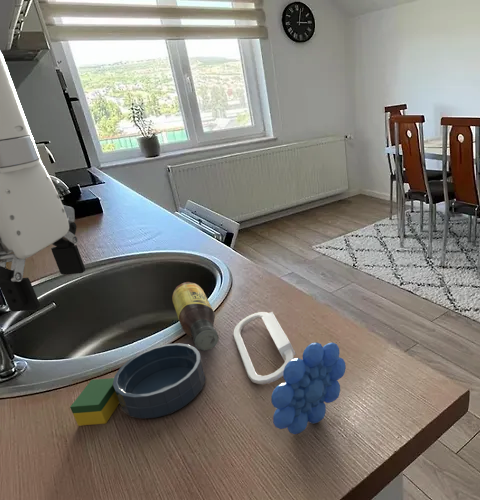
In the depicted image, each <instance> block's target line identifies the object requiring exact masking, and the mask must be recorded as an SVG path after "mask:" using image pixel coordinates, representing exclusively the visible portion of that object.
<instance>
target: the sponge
mask: <svg viewBox="0 0 480 500" xmlns="http://www.w3.org/2000/svg"><path fill="white" fill-rule="evenodd" d="M113 381H114V377H109V378H98V379H95V378H94V379H91V380H90V381H89V382H88V383H87V385H86V386H85V387H84V389H82V391H81V392H80V394H78V396H77V397H76V399H75V400H74V401H73V403H72V404H71V405H70V406H69V408H70V411H71V413H72V416H73V417H74V419H75V422H76V424H77V426H78V427H80V426H81V427H82V426H93V425H105V424H107V423H108V421H109V420H110V418H111V417H112V415H113V414H114V412H115V411H116V410H117V408H118V406H119V405H120V402H119V399H118V397H117V394H116V392H115V389H114V386H113Z"/></svg>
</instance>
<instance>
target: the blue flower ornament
mask: <svg viewBox="0 0 480 500" xmlns="http://www.w3.org/2000/svg"><path fill="white" fill-rule="evenodd" d="M340 355H341V354H340V347H339V345H338V344H337V343H334V342H328V343H326V344H324V345H322V343H319V342H311V343H309V344H308V345H307V346H306V347H305V348H304V350H303V353H302V359H301V358H299V357H294V359H292V360H290V361H289V362H288V363H287V365H286V366H285V368H284V371H283V376H282V377H283V380H284V382H281V383H279V384H278V385H276V387H275V388H274V389H273V391H272V394H271V401H270V402H271V405H272V406H273V408H275V411H274V413H273V416H272V418H273V419H272V422H273V425H274V427H275V428H277V429H279V430H283V429H284V430H285V429H287V430H288V432H289V433H290V434H293V435H298V434H301V433H303V432H304V431H305V430H307V429H306V428H307V426H308V424H309V423H310V424H313V425H314V424H318V423H320V422H321V421H323V419H324V418H325V416H326V412H327V407H326V405H327V404H330V403H333V402H335V401H336V400H338V399H339V396H340V395H341V394H340V393H341V384H340V382H339V380H341V379H342V378H343V377H344V376H345V374H346V369H347V367H346V366H347V365H346V362H345V360H344V358H342V357H340Z"/></svg>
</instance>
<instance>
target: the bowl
mask: <svg viewBox="0 0 480 500" xmlns="http://www.w3.org/2000/svg"><path fill="white" fill-rule="evenodd" d="M113 378H114V381H113V386H114V389H115V392H116V394H117V397H118V399H119V402H120V403H119V405H120V408H121V409H122V412H123V413H124V414H126V415H128V416H129V417H132V418H136V419H155V418H156V419H157V418H161V417H165V416H167V415H170V414H173V413H175V412H177V411H179V410H180V409H182V408H184V407H185V406H187V405H188V404H189V403H191V402H192V401H193V400H194V399H195V398H196V397H197V395H198V394H200V392H201V391H202V389H203V388H204V386H205V383H206V380H207V377H206V370H205V367H204V362H203V359H202V355H201V352H200V351H199V349H198V348H197V347H196V346H193V345H192V344H191V345H190V344H188V343H181V342H177V343H166V344H162V345H158V346H154V347H151V348H148V349H146V350H144V351H141V352H140V353H138V354H137V355H135V356H133V357H131V358H130V359H129V360H127V361H126V362H125V363H124V364H122V365H121V366H120V368H119V369H118V370H117V372H116V373H115V374H114V377H113Z"/></svg>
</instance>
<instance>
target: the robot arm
mask: <svg viewBox="0 0 480 500" xmlns="http://www.w3.org/2000/svg"><path fill="white" fill-rule="evenodd" d="M10 74H11V73H10V72H9V68H8V65H7V64H6V61H5V58H4V55H3V53H2V51H1V50H0V292H1V294H2V296H3V298H4V300H5V303H6V304H7V307H8V309H9V310H10V312H12V313H17V312H27V311H36V310H38V309H39V308H41V303H40V300H39V299H38V296H37V294H36V291H35V289H34V287H33V284H32V282H31V280H30V279H29V277H24V272H25V265H26V259H29V258H31V257H32V256H35V255H36V254H37V253H39V252H41V251H43V250H45V249H47V248H48V247H49V246H53V247H51V248H50V250H51V253H52V255H53V258H54V261H55V263H56V267H57V268H58V270H59V274H61V275H64V276H65V275H75V274H77V275H78V274H83V273H85V272H86V266H85V264H84V262H83V258H82V256H81V254H80V250H79V247H78V246H77V244H78V243H79V239H78V237H77V235H76V233H77V223H75V222H76V217H75V216H76V215H75V209H74V207H72V206H68V205H64V204H63V202H62V200H61V198H60V195H59V193H58V191H57V189H56V187H55V184H54V183H53V181H52V178H51V176H50V175H49V172H48V171H47V169H46V167H45V166H44V164H43V161H42V159H41V157H40V154H39V150H38V148H37V146H36V143H35V140H34V137H33V135H32V132H31V129H30V126H29V123H28V120H27V118H26V116H25V113H24V110H23V107H22V105H21V102H20V99H19V96H18V93H17V91H16V88H15V85H14V82H13V80H12V77H11V75H10ZM7 263H11V266H10V269H9V268H7V267H6V266H7Z"/></svg>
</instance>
